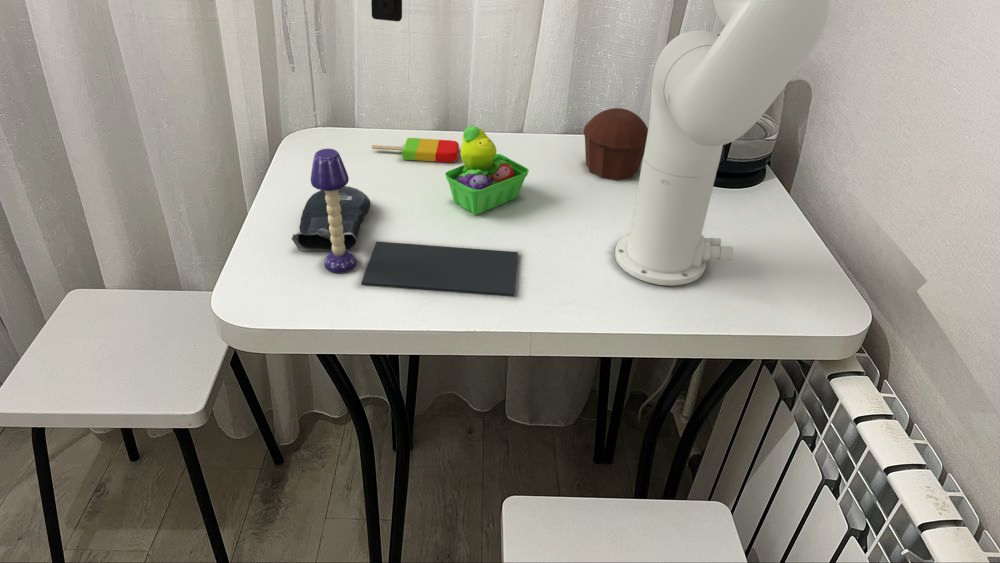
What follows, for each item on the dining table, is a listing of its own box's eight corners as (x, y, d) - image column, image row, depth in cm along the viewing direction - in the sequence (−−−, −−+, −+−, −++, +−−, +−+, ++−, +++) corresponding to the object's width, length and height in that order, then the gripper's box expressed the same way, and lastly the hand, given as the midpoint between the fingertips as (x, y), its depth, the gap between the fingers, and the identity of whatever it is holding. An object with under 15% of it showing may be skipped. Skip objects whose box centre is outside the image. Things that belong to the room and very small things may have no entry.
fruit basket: (474, 222, 111) (476, 153, 105) (437, 198, 116) (437, 131, 110) (529, 199, 118) (534, 133, 111) (491, 178, 123) (495, 113, 116)
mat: (517, 254, 105) (517, 251, 104) (514, 296, 97) (514, 294, 96) (376, 243, 105) (376, 241, 105) (361, 284, 97) (361, 282, 97)
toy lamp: (348, 278, 98) (338, 163, 88) (314, 272, 99) (301, 158, 89) (360, 258, 102) (352, 146, 92) (328, 253, 103) (317, 141, 93)
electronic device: (364, 260, 104) (374, 195, 115) (356, 230, 100) (367, 165, 111) (298, 265, 104) (315, 200, 115) (287, 235, 100) (305, 170, 111)
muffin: (583, 149, 134) (590, 96, 128) (645, 157, 132) (655, 104, 126) (575, 179, 124) (582, 123, 118) (642, 188, 123) (652, 132, 117)
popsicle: (457, 163, 126) (457, 153, 125) (368, 158, 126) (368, 148, 125) (459, 149, 131) (459, 140, 130) (374, 144, 131) (373, 134, 130)
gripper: (418, -157, 67) (416, 33, 77) (443, -172, 81) (438, -10, 91) (335, -165, 67) (344, 26, 77) (374, -179, 81) (377, -16, 91)
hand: (395, 7), depth 84 cm, fingers open, 9 cm apart
